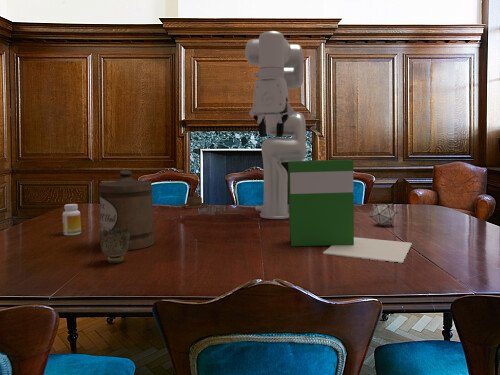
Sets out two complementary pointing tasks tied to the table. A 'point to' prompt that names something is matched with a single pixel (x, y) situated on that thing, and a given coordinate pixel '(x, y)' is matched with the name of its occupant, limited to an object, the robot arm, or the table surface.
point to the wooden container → (128, 209)
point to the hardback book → (321, 202)
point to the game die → (383, 214)
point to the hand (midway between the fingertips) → (271, 136)
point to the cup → (114, 243)
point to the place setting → (195, 202)
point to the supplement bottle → (71, 220)
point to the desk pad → (372, 250)
